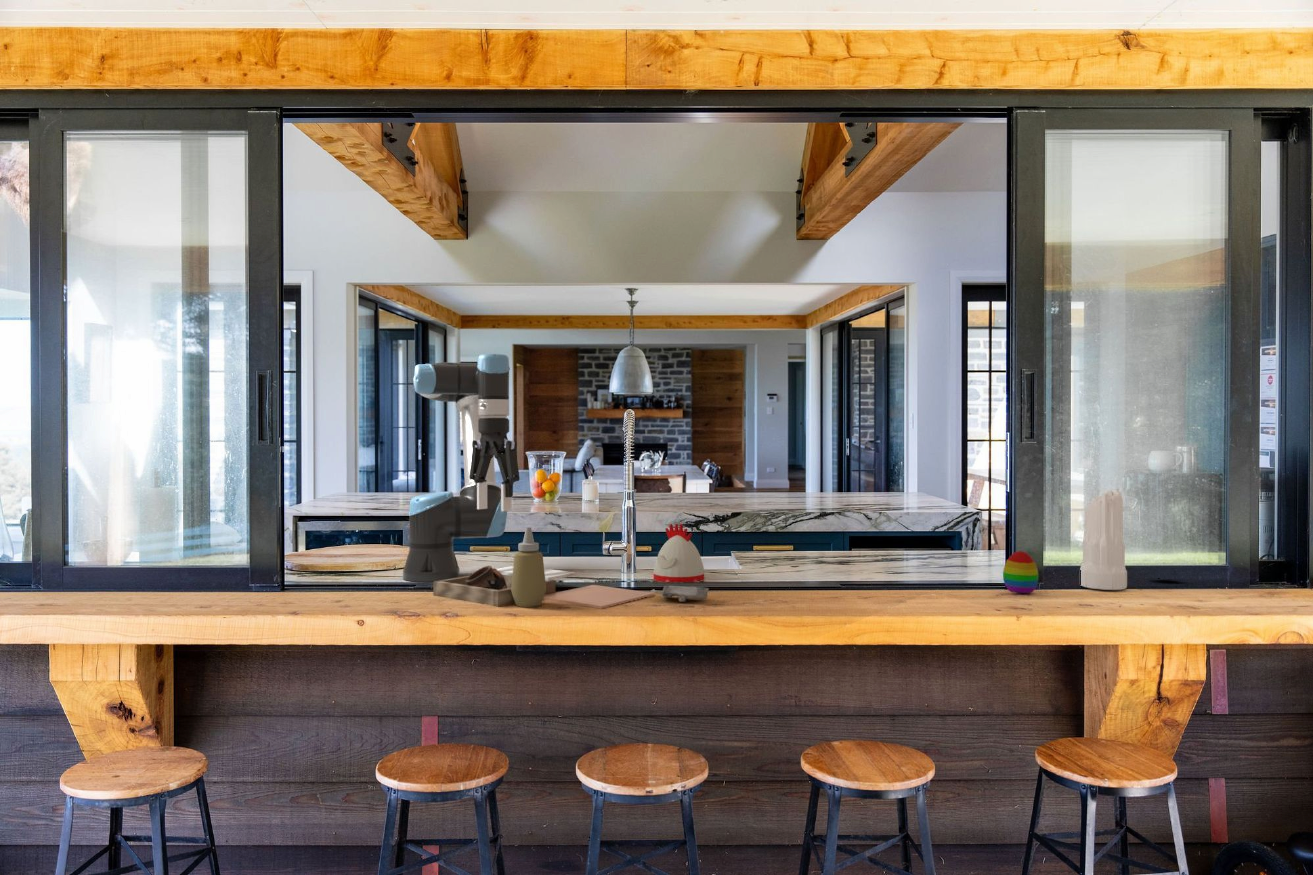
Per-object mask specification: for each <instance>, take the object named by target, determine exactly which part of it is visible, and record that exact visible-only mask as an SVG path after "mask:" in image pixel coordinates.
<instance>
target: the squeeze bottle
mask: <svg viewBox="0 0 1313 875" xmlns="http://www.w3.org/2000/svg"><path fill="white" fill-rule="evenodd" d="M524 530H525V532H524V536H523V540H522V542H520V543H518V547H517V548H518V552H516V553H515V554H514V556H513V565H512V566H513V575H512V586H511V592H512V595H513V598H514V601H515V603H514V604H515V605H516V606H517V607H520V608H534V607H538V606H541V605H542V603H543V601H544V600H543V597H544V594H545V591H546V582H545V572H544V568H545V567H544V566H545V565H544V563H545V562H544V555H543V553H542V552H541V551H539V546H540V544H539V542H535V539H534V535H533V531H532V527H525V529H524Z"/></svg>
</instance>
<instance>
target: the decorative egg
mask: <svg viewBox="0 0 1313 875" xmlns="http://www.w3.org/2000/svg"><path fill="white" fill-rule="evenodd" d="M1002 577H1003V578H1002V579H1003V583H1004V585H1005V587H1006V589H1007V590H1008V591H1009V592H1012V593H1018V594H1031V593H1033V592H1034V591H1035V589H1036V588H1037V586H1038V583H1039V570H1038V567H1037V564H1036V562H1035V561H1034V559H1033V558H1032V556H1031V555H1029V554H1028V553H1027V552H1025V551H1022V550H1020V551H1019V550H1018V551H1015V552H1014V553H1012V554H1011V555H1010V556H1009V557H1008V559H1006V561H1005V564H1004V567H1003V572H1002Z"/></svg>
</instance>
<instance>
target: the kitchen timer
mask: <svg viewBox="0 0 1313 875" xmlns="http://www.w3.org/2000/svg"><path fill="white" fill-rule="evenodd" d="M665 532H666V535H667V538H668V540H666V542H665V543H663V545H662V547H660V550H659V551H658V554H657V557H656V561H655V564H654V567H653V580H654V581H657V582H660V583H667V582H693V583H698V582H697V581H699V582H702V581H701V580H703V581H704V580H705V569H704V568H705V567H704V563H703V560H702V556H701V555H700V553H699V550H698V548H697V547H696V545H695V544H694V543H693V542H692V541H691V538H692V535H693V533H692V532H690V533H687V532H688V528H685V529H684V525H683V523H680V524H678V523H675V525H673V523H670V524H669V528H668V527H665ZM687 534H688V535H687Z"/></svg>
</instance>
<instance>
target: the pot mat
mask: <svg viewBox="0 0 1313 875" xmlns="http://www.w3.org/2000/svg"><path fill="white" fill-rule="evenodd" d="M653 595H655V596H656V593H653V592H647V591H642V590H641V591H640V590H634V589H627V588H619V587H612V586H611V587H610V586H605V585H604V586H603V585H597V584H590V585H586V586H581V587H576V588H571V589H568V590H563V591H557V592H555V593H552V594H547V595H544V597H543V599H544V600H543V601H549V602H556V603H561V604H562V603H563V604H567V605H568V604H569V605H575V606H579V607H580V606H581V607H586V608H587V607H588V608H595V609H601V610H602V609H606V608H610V607H609V606H611V607H614V605H615V606H617V605H616V604H619V605H622V604H621V603H623V604H626V603H625V602H627V603H629V602H628V601H631V602H634V601H633V600H635V599H639V600H642V599H641V598H643V599H645V598H644V597H647V598H651V597H654V596H653ZM635 601H636V600H635Z"/></svg>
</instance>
